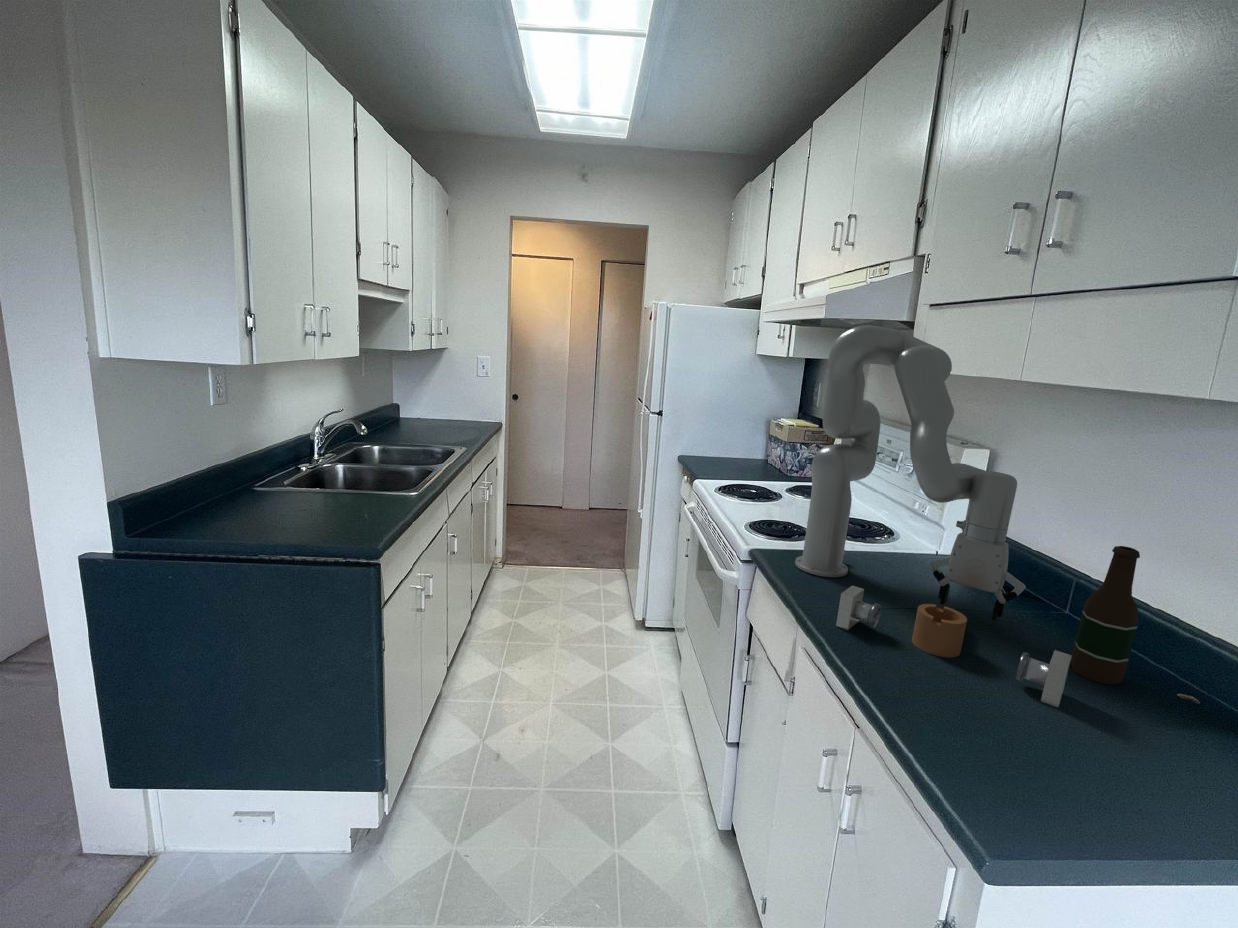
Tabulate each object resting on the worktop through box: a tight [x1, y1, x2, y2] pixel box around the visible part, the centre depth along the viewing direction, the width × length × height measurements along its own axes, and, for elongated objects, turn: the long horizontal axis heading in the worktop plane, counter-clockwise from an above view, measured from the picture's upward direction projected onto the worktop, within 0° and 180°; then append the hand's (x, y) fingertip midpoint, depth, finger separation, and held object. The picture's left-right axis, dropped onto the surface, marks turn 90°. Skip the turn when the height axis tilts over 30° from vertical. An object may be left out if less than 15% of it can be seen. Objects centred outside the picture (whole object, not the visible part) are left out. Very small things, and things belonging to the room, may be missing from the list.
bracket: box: [911, 603, 968, 658], centre depth 120 cm, size 18×8×7 cm, turn 149°
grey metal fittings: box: [835, 585, 1072, 708], centre depth 111 cm, size 6×37×7 cm, turn 49°
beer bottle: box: [1070, 545, 1141, 686], centre depth 108 cm, size 8×8×24 cm
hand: (968, 610), depth 127 cm, fingers open, 9 cm apart
